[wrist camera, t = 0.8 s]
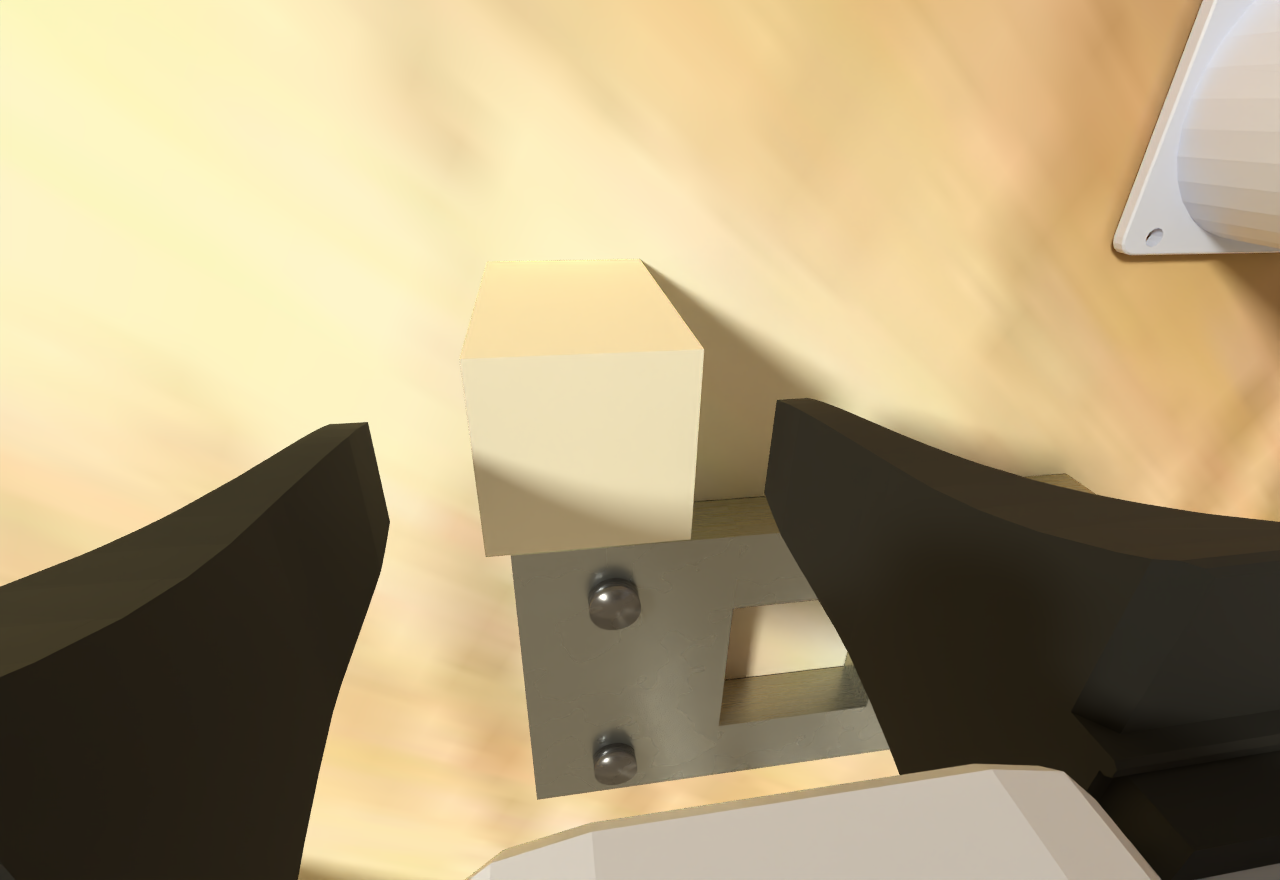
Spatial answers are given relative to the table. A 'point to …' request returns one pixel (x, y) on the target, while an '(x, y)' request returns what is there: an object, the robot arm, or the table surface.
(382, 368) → the table surface
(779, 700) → the strike plate
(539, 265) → the cream rectangular block
